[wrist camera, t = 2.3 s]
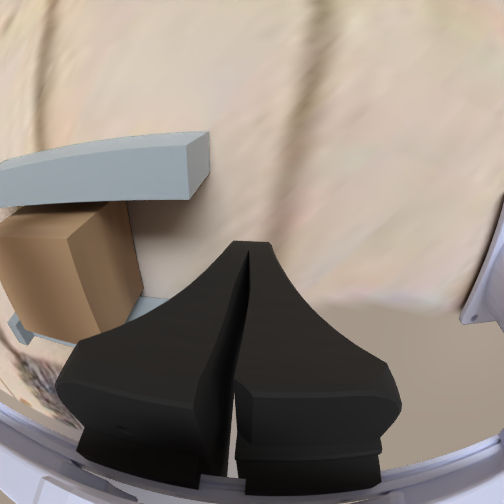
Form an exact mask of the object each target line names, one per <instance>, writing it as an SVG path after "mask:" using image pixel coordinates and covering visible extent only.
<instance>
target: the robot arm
mask: <svg viewBox="0 0 504 504" xmlns="http://www.w3.org/2000/svg"><path fill="white" fill-rule="evenodd" d="M459 320H460V322H461V323H462V324H463V325H466V324H474V323H483V322H490V321H497V323H498V324H499V326H500V328H501V329H502V331H503V332H504V204H503V208H502V211H501V214H500V218H499V221H498V224H497V227H496V231H495V234H494V236H493V239H492V242H491V245H490V248H489V250H488V253H487V256H486V258H485V261H484V263H483V266H482V268H481V271H480V273H479V276H478V278H477V280H476V282H475V285H474V287H473V289H472V291H471V293H470V295H469V298H468V300H467V302H466V304H465V306H464V308H463V310H462V312H461V314H460V316H459ZM55 388H56V391H57V394H58V397H59V398H60V399H61V401H62V402H63V404H64V405H65V406H66V407H67V408H68V409H69V411H70V412H71V413H72V414H73V415H74V416H75V417H76V418H77V419H78V420H79V421H80V423H81V424H82V425H83V426H84V427H85V428H84V431H83V433H82V436H81V439H80V441H76V440H74V439H71V438H69V437H67V436H65V435H62V434H60V433H57V432H55V431H53V430H51V429H49V428H47V427H45V426H43V425H41V424H39V423H37V422H35V421H33V420H31V419H29V418H27V417H25V416H24V415H22V414H20V413H18V412H17V411H14V410H13V409H11V408H10V407H8V406H6V405H4V404H3V403H1V402H0V490H2V491H3V492H4V493H5V494H6V495H7V496H8V497H9V498H11V499H12V500H13V501H14V502H15V503H16V504H142V503H138V502H137V501H138V499H137V498H136V497H134V496H132V495H130V494H128V493H126V492H123V491H122V490H120V489H118V488H116V487H114V486H113V485H112V484H110V483H109V482H108V481H106V480H104V479H102V478H100V477H97V476H95V475H93V474H91V473H89V472H87V471H85V470H83V469H86V470H88V471H91V472H93V473H96V474H98V475H102V476H104V477H107V478H109V479H113V480H115V481H118V482H121V483H124V484H128V485H131V486H134V487H138V488H141V489H145V490H149V491H153V492H157V493H161V494H166V495H170V496H174V497H179V498H184V499H190V500H196V501H202V502H210V503H217V504H339V503H347V502H354V501H360V500H364V501H360V502H355V503H351V504H504V428H503V429H502V430H501V431H500V433H499V434H497V435H494V436H492V437H490V438H488V439H485V440H483V441H481V442H478V443H476V444H473V445H471V446H468V447H466V448H463V449H460V450H458V451H455V452H452V453H449V454H446V455H443V456H440V457H436V458H433V459H430V460H426V461H422V462H419V463H415V464H411V465H407V466H403V467H398V468H394V469H389V470H384V471H380V465H379V459H378V455H379V454H380V453H382V445H381V440H380V437H381V436H382V435H383V434H384V433H385V432H386V431H387V429H388V428H389V427H390V426H391V425H392V424H393V423H394V421H395V420H396V419H397V417H398V415H399V414H400V412H401V408H402V403H401V399H400V395H399V392H398V388H397V386H396V383H395V380H394V378H393V376H392V374H391V372H390V370H389V368H388V365H387V363H385V362H384V361H382V360H380V359H379V358H377V357H375V356H374V355H372V354H370V353H368V352H367V351H365V350H363V349H362V348H360V347H358V346H357V345H355V344H354V343H353V342H351V341H350V340H348V339H347V338H345V337H344V336H343V335H341V334H340V333H339V332H338V331H336V330H335V329H334V328H333V327H332V326H330V325H329V324H328V323H327V322H326V321H325V320H324V319H322V318H321V317H320V316H319V315H318V314H317V313H316V312H315V311H314V310H313V309H312V308H311V307H310V306H309V304H308V303H307V302H306V301H305V300H304V299H303V298H302V296H301V295H300V294H299V293H298V291H297V290H296V289H295V287H294V286H293V284H292V283H291V282H290V280H289V279H288V277H287V276H286V274H285V272H284V271H283V269H282V267H281V266H280V264H279V262H278V260H277V258H276V256H275V254H274V251H273V248H272V245H271V244H270V243H269V242H253V241H233V242H232V243H231V244H230V245H229V246H228V247H227V248H226V249H225V250H224V252H223V253H222V254H221V255H220V256H219V257H218V258H217V259H216V260H215V261H214V262H213V263H212V264H211V265H210V267H209V268H208V269H207V270H206V271H204V272H203V273H202V274H201V275H200V276H199V277H198V278H197V279H196V280H195V281H193V282H192V283H191V284H190V285H189V286H188V287H186V288H185V289H184V290H182V291H181V292H180V293H178V294H177V295H175V296H174V297H173V298H171V299H170V300H168V301H166V302H165V303H163V304H161V305H160V306H158V307H156V308H154V309H153V310H151V311H149V312H148V313H146V314H144V315H142V316H140V317H138V318H136V319H134V320H132V321H130V322H127V323H125V324H123V325H121V326H119V327H116V328H114V329H111V330H108V331H106V332H103V333H100V334H97V335H94V336H91V337H89V338H86V339H82V340H79V342H78V343H77V345H76V346H75V348H74V350H73V351H72V353H71V355H70V356H69V358H68V360H67V362H66V363H65V365H64V367H63V369H62V371H61V373H60V374H59V376H58V378H57V380H56V383H55ZM234 393H235V407H236V419H237V440H236V449H235V460H236V463H237V470H238V478H229V477H227V471H228V458H229V445H230V433H231V421H232V410H233V400H234ZM82 468H83V469H82ZM366 499H368V500H366Z"/></svg>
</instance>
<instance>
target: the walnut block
mask: <svg viewBox="0 0 504 504" xmlns="http://www.w3.org/2000/svg"><path fill="white" fill-rule="evenodd" d="M0 281H1V283H2V286H3V288H4V290H5V292H6V294H7V296H8V298H9V300H10V302H11V304H12V306H13V308H14V310H15V312H16V314H17V316H18V318H19V320H20V321H21V323H22V325H23V327H24V328H25V330H28V331H31V332H34V333H37V334H40V335H44V336H47V337H51V338H54V339H58V340H61V341H65V342H69V343H73V344H77V343H78V342H79V340H82V339H86V338H89V337H91V336H94V335H97V334H100V333H103V332H106V331H108V330H111V329H114V328H116V327H119V326H121V325H123V324H125V322H126V320H127V318H128V316H129V314H130V312H131V311H132V309H133V307H134V305H135V303H136V301H137V300H138V298H139V296H140V294H141V292H142V291H143V289H144V288H143V284H142V280H141V276H140V271H139V267H138V263H137V258H136V253H135V249H134V244H133V239H132V233H131V228H130V223H129V217H128V211H127V205H126V200H119V201H90V202H70V203H53V204H38V205H25V206H24V207H22V208H21V209H19V210H18V211H16V212H15V213H14V214H12V215H11V216H9V217H8V218H7V219H5V220H4V221H2V222H1V223H0Z"/></svg>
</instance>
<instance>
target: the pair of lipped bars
mask: <svg viewBox="0 0 504 504" xmlns="http://www.w3.org/2000/svg"><path fill="white" fill-rule="evenodd" d="M209 173H210V161H209V131H206V132H182V133H166V134H153V135H142V136H132V137H123V138H115V139H108V140H101V141H94V142H88V143H82V144H76V145H70V146H65V147H60V148H55V149H50V150H46V151H41V152H37V153H32V154H28V155H24V156H20V157H16V158H13V159H9V160H5V161H3V162H1V163H0V208H3V207H14V206H25V205H38V204H53V203H70V202H90V201H119V200H190V198H191V197H192V196H193V194H194V193H195V192H196V190H197V189H198V188H199V186H200V185H201V183H202V182H203V181H204V179H205V178H206V177H207V176H208V174H209ZM168 300H170V299H160V298H150V297H140V296H139V298H138V300H137V301H136V303H135V305H134V307H133V309H132V311H131V312H130V314H129V316H128V318H127V320H126V322H125V323H127V322H130V321H132V320H134V319H136V318H138V317H140V316H142V315H144V314H146V313H148V312H149V311H151V310H153V309H154V308H156V307H158V306H160V305H161V304H163V303H165V302H166V301H168ZM7 323H8V325H9V326H10V328H11V330H12V331H13V333H14V335H15V336H16V338H17V340H18V341H19V343H22V344H25V345H27V346H28V344H29V343H30V342H31V340H32V339H33V337H34V336H37V337H40V338H43V339H46V340H50V341H53V342H57V343H60V344H64V345H67V346H71V347H75V346H76V345H77V344H73V343H69V342H65V341H61V340H58V339H54V338H51V337H47V336H44V335H40V334H37V333H34V332H31V331H28V330H25V328H24V327H23V325H22V323H21V321H20V320H19V318H18V316H17V314H16V312H15V313H14V315H13V316H12V317H11V319H10V320H9V321H8V322H7Z"/></svg>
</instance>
